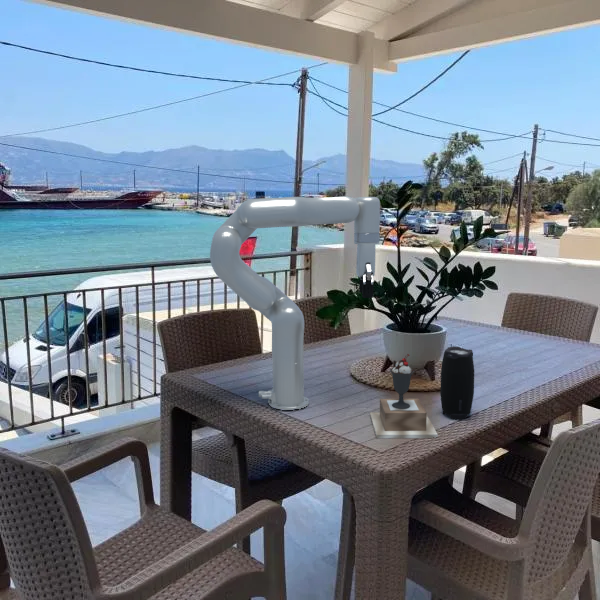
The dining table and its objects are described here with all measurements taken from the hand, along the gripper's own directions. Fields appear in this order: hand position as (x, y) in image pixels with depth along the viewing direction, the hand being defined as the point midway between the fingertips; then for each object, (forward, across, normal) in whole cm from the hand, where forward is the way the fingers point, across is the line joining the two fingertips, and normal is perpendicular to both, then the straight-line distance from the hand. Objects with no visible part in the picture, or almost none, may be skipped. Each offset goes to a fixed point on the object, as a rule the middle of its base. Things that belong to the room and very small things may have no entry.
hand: (366, 295), depth 174 cm
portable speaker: (+34, +14, +25) cm, 44 cm away
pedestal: (+33, +22, +8) cm, 41 cm away
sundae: (+27, +22, +8) cm, 36 cm away
